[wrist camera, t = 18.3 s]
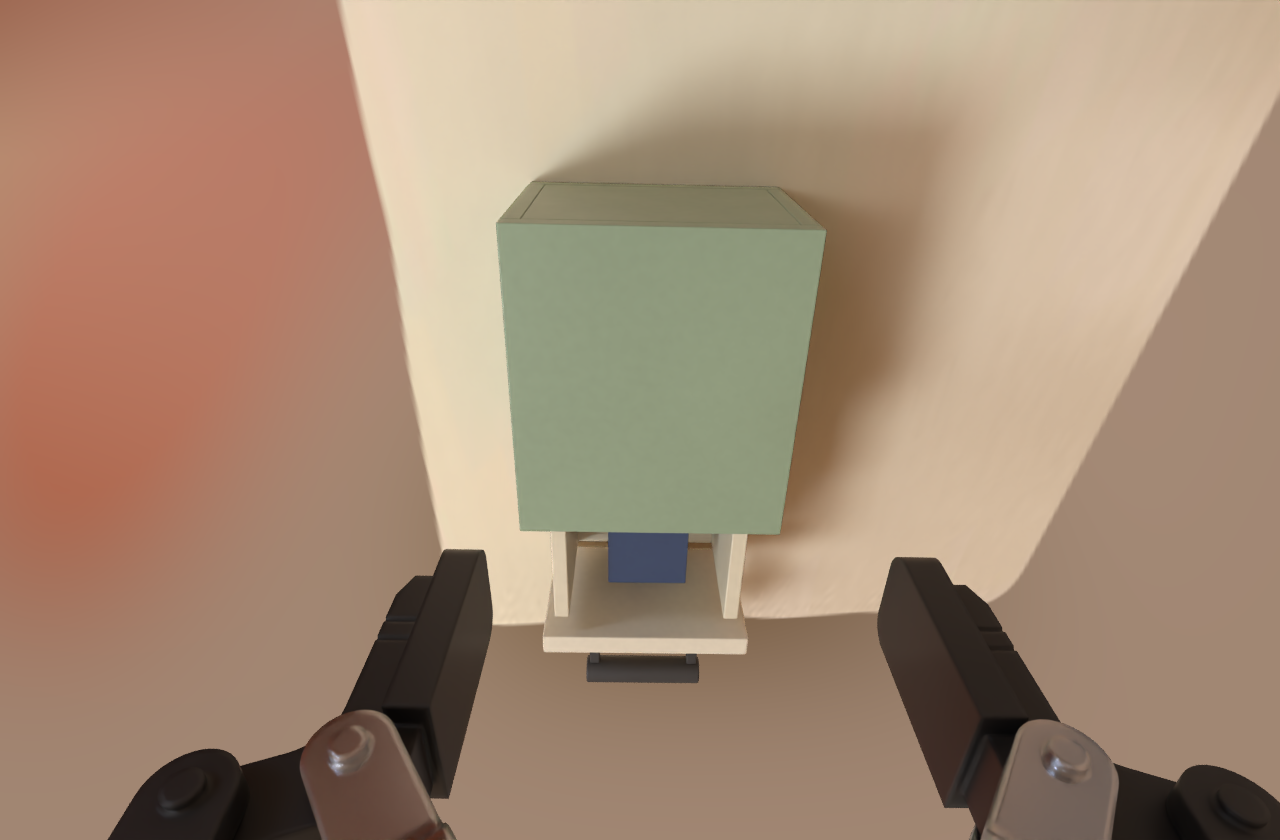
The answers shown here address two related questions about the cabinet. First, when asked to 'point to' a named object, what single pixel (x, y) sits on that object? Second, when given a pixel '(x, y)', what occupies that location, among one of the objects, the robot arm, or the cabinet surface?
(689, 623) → the drawer
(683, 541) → the block
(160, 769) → the robot arm
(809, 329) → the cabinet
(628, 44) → the cabinet surface
